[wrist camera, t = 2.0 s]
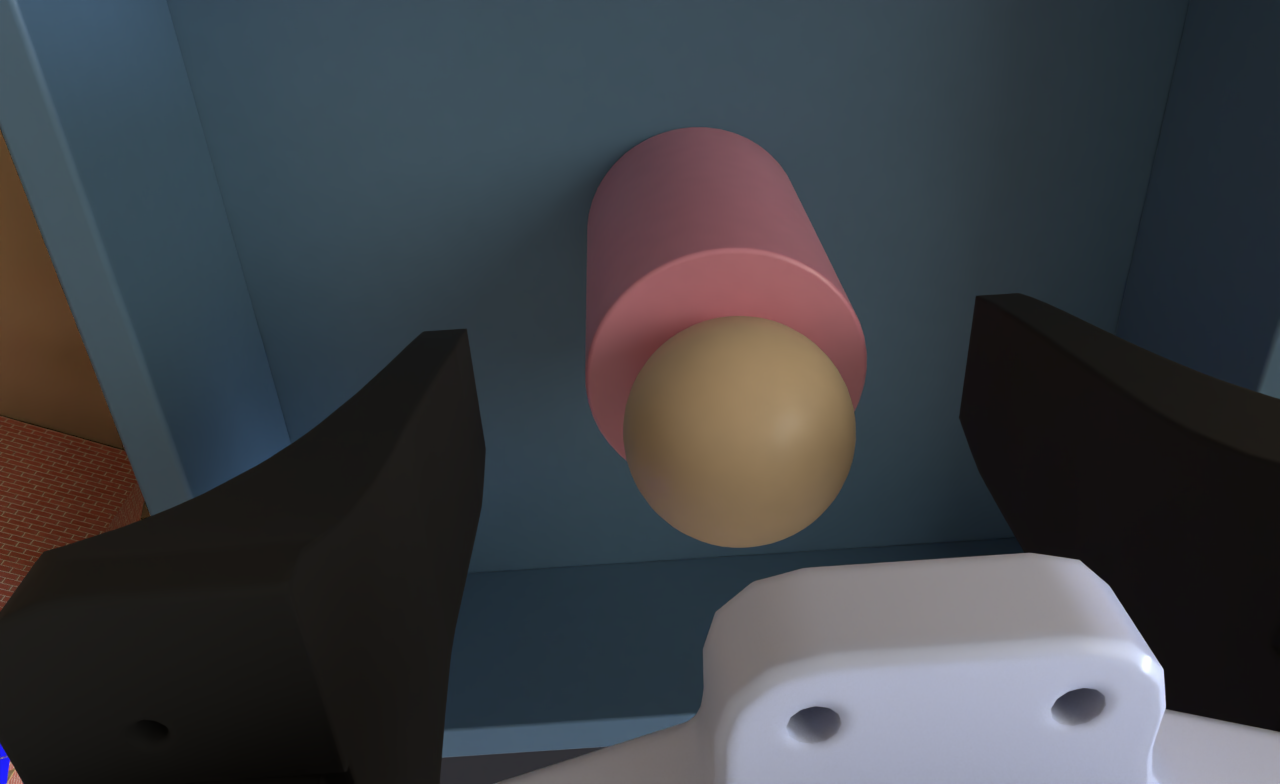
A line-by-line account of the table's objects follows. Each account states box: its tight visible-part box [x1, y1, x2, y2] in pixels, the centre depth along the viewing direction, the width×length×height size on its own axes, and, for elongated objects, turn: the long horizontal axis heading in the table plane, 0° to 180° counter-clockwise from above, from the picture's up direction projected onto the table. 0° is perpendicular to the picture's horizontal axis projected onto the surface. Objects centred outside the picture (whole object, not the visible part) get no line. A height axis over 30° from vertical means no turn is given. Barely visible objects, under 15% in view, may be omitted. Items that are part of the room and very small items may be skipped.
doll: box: [585, 127, 867, 548], centre depth 15 cm, size 4×4×8 cm
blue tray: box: [0, 0, 1280, 758], centre depth 17 cm, size 19×18×5 cm
